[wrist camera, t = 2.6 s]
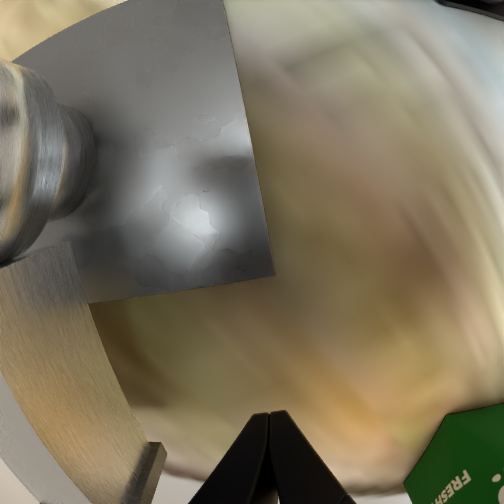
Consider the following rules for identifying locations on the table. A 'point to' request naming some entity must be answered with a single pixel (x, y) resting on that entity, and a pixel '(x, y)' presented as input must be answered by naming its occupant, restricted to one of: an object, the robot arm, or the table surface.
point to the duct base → (153, 152)
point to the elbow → (55, 331)
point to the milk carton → (462, 461)
